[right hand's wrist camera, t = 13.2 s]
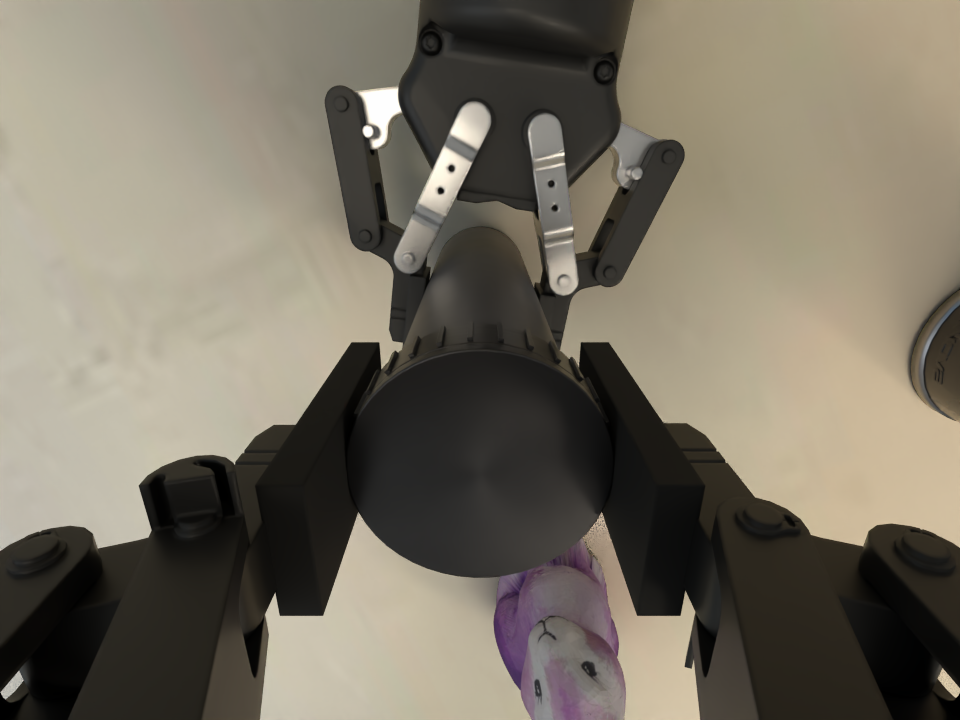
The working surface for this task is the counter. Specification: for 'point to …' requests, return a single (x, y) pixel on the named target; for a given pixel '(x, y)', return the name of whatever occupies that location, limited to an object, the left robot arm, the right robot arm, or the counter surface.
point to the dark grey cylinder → (480, 287)
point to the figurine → (561, 639)
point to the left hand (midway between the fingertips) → (472, 357)
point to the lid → (480, 452)
